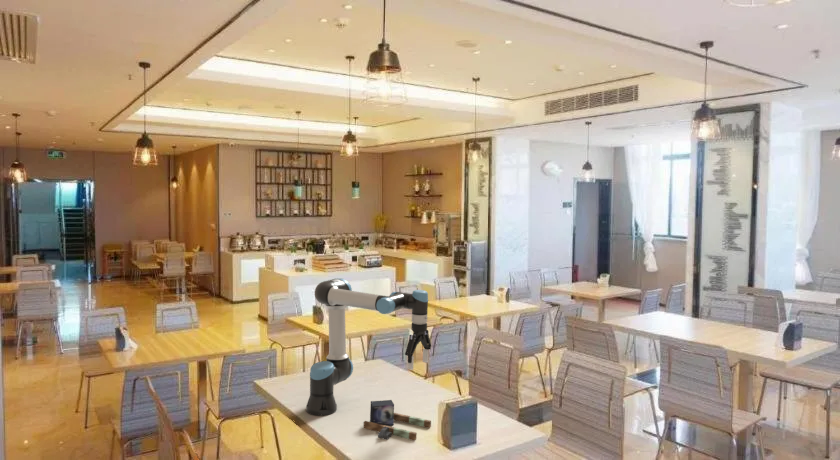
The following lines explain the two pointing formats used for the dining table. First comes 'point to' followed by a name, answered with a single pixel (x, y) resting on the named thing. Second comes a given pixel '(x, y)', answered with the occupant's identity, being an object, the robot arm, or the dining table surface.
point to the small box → (382, 412)
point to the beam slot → (400, 431)
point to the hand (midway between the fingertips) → (418, 365)
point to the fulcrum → (385, 433)
